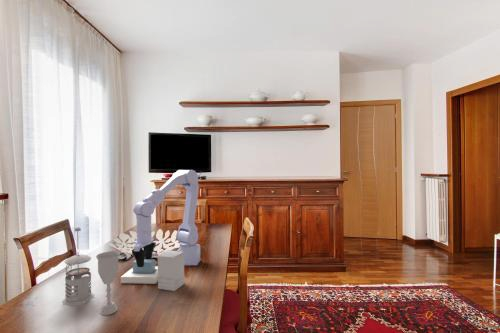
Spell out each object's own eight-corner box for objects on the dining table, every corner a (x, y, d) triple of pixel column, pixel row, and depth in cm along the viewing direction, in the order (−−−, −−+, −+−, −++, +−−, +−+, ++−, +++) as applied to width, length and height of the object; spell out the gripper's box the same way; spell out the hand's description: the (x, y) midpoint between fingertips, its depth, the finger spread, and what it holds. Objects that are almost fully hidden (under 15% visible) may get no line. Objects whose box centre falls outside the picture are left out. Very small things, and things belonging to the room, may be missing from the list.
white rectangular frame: (166, 272, 125) (166, 266, 125) (155, 283, 113) (155, 277, 113) (134, 271, 125) (134, 266, 125) (120, 283, 113) (120, 276, 113)
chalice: (102, 305, 95) (102, 251, 95) (123, 304, 96) (123, 250, 96) (92, 317, 88) (91, 258, 88) (115, 316, 89) (114, 258, 88)
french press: (70, 308, 94) (69, 232, 93) (53, 299, 100) (52, 228, 100) (100, 296, 102) (99, 226, 102) (82, 289, 108) (81, 222, 108)
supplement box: (185, 283, 112) (184, 251, 112) (174, 291, 105) (173, 257, 105) (168, 281, 115) (168, 249, 115) (157, 288, 108) (156, 255, 108)
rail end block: (155, 276, 120) (155, 259, 120) (151, 279, 117) (151, 262, 117) (136, 275, 121) (136, 259, 121) (132, 279, 117) (132, 262, 117)
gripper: (142, 226, 126) (142, 257, 126) (126, 235, 112) (126, 269, 112) (157, 226, 126) (158, 257, 126) (143, 235, 111) (144, 270, 112)
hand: (144, 263), depth 119 cm, fingers open, 7 cm apart
